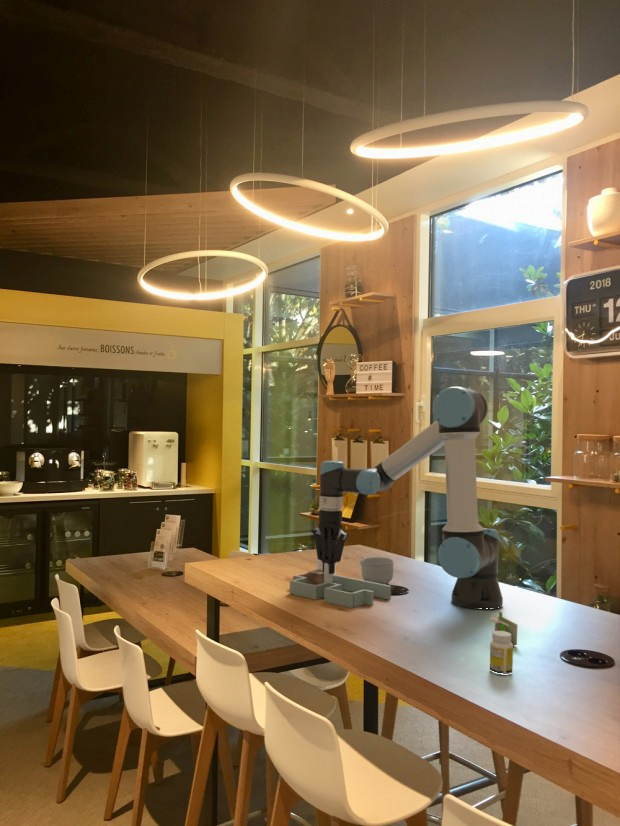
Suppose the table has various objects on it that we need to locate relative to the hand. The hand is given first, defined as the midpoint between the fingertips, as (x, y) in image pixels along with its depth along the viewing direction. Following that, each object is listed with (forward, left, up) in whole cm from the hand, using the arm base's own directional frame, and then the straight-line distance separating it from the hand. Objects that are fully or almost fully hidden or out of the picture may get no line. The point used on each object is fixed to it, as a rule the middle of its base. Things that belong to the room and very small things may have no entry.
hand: (328, 583), depth 222 cm
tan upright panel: (-64, +14, -3) cm, 66 cm away
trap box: (-6, +5, -2) cm, 8 cm away
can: (+8, -9, -2) cm, 12 cm away
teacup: (-5, -19, -2) cm, 20 cm away
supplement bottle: (-71, +35, -2) cm, 80 cm away
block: (+4, 0, -2) cm, 4 cm away
